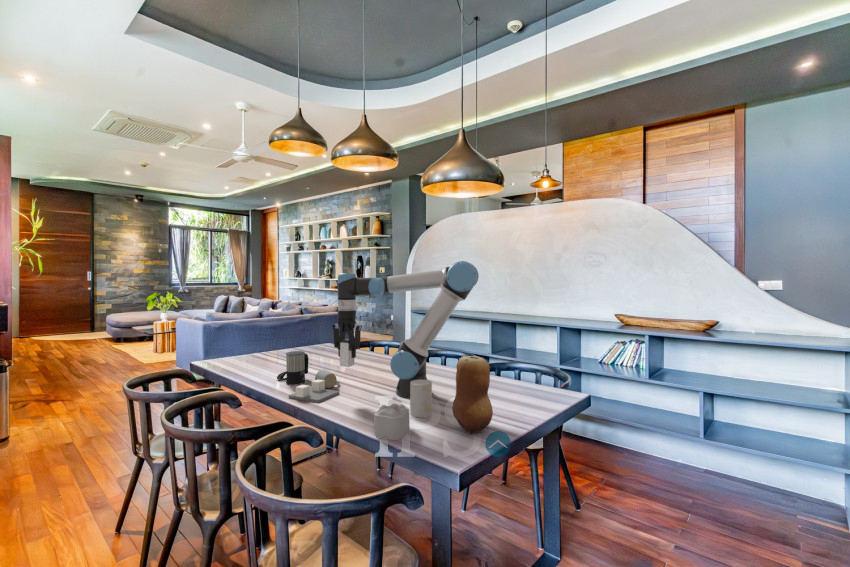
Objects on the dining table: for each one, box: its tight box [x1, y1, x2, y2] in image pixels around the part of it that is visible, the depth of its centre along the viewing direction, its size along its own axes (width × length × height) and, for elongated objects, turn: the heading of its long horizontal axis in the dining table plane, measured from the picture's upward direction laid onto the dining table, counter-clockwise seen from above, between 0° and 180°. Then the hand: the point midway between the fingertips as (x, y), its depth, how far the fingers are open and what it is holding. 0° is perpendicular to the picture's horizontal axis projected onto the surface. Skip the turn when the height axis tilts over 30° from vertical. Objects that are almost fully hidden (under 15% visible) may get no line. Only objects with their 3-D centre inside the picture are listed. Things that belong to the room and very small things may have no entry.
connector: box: [339, 338, 351, 368], centre depth 175 cm, size 4×4×11 cm
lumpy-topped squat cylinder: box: [373, 403, 410, 441], centre depth 139 cm, size 10×13×9 cm
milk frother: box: [276, 350, 309, 385], centre depth 206 cm, size 14×16×15 cm
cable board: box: [288, 379, 340, 404], centre depth 181 cm, size 16×14×5 cm
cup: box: [409, 379, 433, 418], centre depth 157 cm, size 8×8×12 cm
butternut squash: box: [452, 355, 494, 434], centre depth 140 cm, size 14×13×25 cm
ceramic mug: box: [314, 369, 340, 389], centre depth 196 cm, size 11×8×8 cm
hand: (347, 364), depth 176 cm, fingers closed on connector, 4 cm apart
